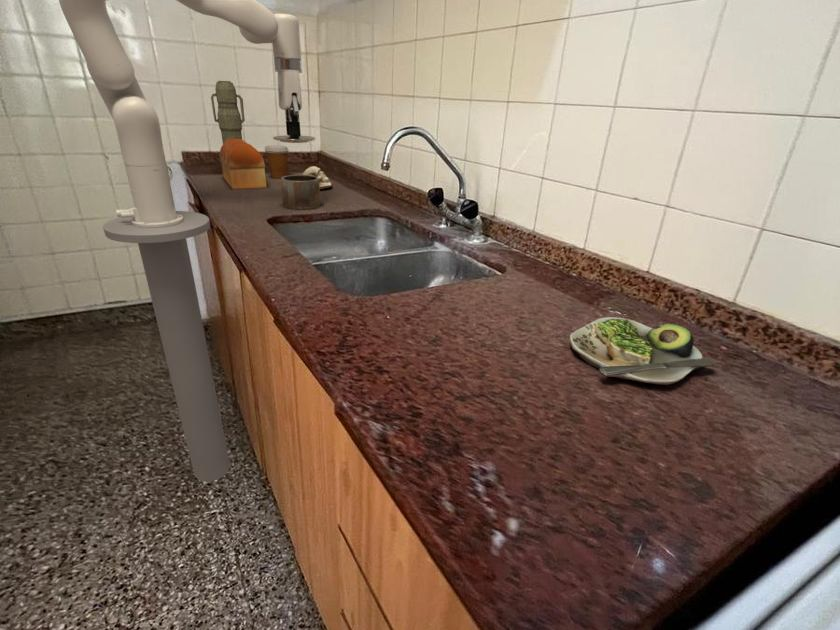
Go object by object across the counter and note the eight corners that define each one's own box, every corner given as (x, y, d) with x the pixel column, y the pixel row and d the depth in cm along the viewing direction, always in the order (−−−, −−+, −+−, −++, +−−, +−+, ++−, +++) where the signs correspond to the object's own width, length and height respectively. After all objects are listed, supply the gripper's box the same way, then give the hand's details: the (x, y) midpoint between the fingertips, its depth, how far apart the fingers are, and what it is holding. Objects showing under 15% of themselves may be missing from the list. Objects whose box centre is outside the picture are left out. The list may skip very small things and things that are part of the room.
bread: (222, 177, 182) (216, 138, 175) (254, 176, 187) (250, 138, 181) (232, 189, 162) (226, 145, 156) (267, 187, 168) (263, 145, 161)
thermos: (251, 174, 191) (240, 81, 176) (221, 174, 188) (207, 80, 172) (251, 170, 199) (240, 81, 183) (222, 171, 195) (209, 80, 179)
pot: (288, 210, 138) (285, 182, 134) (280, 202, 147) (278, 175, 143) (324, 208, 143) (323, 180, 139) (315, 200, 152) (313, 174, 148)
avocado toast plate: (658, 415, 55) (669, 384, 53) (540, 352, 67) (546, 325, 65) (721, 366, 66) (732, 338, 64) (610, 320, 78) (616, 296, 76)
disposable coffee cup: (286, 179, 184) (283, 148, 179) (263, 178, 184) (260, 147, 179) (293, 175, 192) (291, 146, 187) (272, 174, 193) (269, 144, 187)
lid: (277, 143, 129) (275, 116, 126) (270, 139, 139) (267, 114, 135) (320, 143, 134) (319, 117, 131) (310, 139, 144) (308, 114, 141)
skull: (337, 182, 177) (331, 164, 167) (331, 204, 173) (326, 187, 164) (307, 179, 178) (300, 161, 168) (301, 201, 174) (294, 184, 164)
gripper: (269, 66, 132) (275, 133, 140) (280, 64, 119) (286, 138, 127) (295, 67, 135) (299, 133, 143) (308, 66, 122) (313, 138, 131)
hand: (293, 135), depth 135 cm, fingers closed on lid, 2 cm apart
